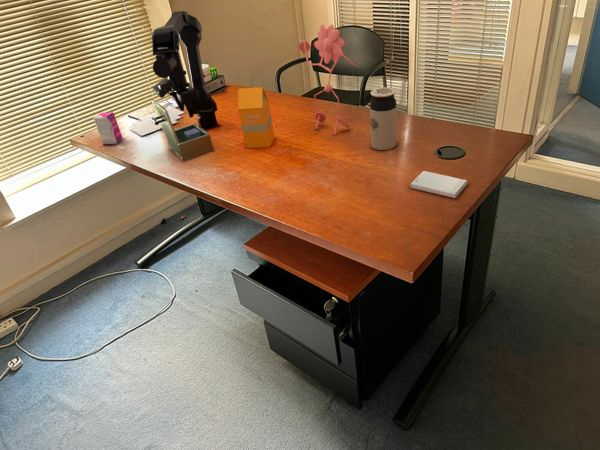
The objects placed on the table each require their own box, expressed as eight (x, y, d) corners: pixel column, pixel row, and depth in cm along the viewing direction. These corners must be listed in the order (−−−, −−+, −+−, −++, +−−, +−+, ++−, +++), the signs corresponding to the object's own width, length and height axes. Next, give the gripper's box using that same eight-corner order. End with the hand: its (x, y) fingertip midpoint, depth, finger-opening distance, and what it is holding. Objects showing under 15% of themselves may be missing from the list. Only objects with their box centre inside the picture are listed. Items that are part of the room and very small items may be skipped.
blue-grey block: (187, 146, 162) (183, 131, 159) (199, 142, 164) (195, 127, 161) (192, 149, 159) (188, 135, 156) (203, 145, 161) (200, 131, 158)
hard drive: (410, 183, 120) (455, 193, 113) (423, 170, 125) (467, 179, 118) (410, 188, 121) (454, 199, 114) (423, 175, 126) (466, 184, 119)
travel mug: (390, 138, 148) (389, 85, 138) (400, 147, 142) (400, 92, 132) (367, 143, 147) (365, 90, 137) (376, 152, 141) (375, 97, 131)
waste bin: (198, 138, 169) (194, 123, 165) (213, 150, 158) (209, 134, 155) (170, 148, 164) (165, 133, 161) (183, 161, 154) (178, 144, 150)
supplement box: (116, 144, 174) (105, 117, 168) (103, 145, 176) (92, 118, 169) (123, 138, 179) (113, 111, 172) (111, 139, 180) (100, 112, 174)
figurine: (351, 140, 151) (344, 32, 131) (298, 126, 167) (285, 27, 147) (379, 124, 159) (376, 20, 139) (326, 112, 175) (317, 17, 155)
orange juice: (251, 138, 163) (241, 84, 151) (274, 137, 161) (265, 83, 149) (245, 148, 156) (234, 92, 145) (269, 147, 154) (259, 91, 143)
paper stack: (120, 124, 193) (119, 123, 192) (171, 106, 205) (170, 105, 205) (141, 137, 177) (141, 135, 177) (195, 116, 189) (195, 115, 189)
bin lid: (153, 100, 154) (141, 104, 152) (167, 109, 143) (154, 114, 142) (165, 131, 161) (154, 135, 159) (179, 143, 150) (167, 147, 149)
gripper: (142, 70, 150) (157, 114, 158) (159, 80, 136) (174, 128, 145) (173, 62, 154) (185, 105, 163) (193, 71, 140) (205, 118, 149)
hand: (187, 114), depth 155 cm, fingers open, 9 cm apart
